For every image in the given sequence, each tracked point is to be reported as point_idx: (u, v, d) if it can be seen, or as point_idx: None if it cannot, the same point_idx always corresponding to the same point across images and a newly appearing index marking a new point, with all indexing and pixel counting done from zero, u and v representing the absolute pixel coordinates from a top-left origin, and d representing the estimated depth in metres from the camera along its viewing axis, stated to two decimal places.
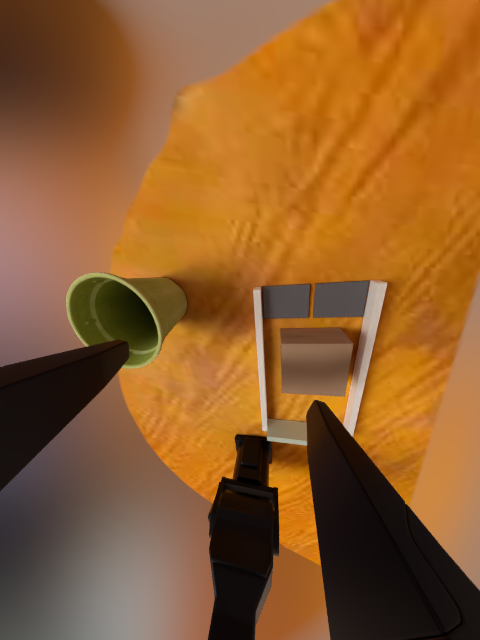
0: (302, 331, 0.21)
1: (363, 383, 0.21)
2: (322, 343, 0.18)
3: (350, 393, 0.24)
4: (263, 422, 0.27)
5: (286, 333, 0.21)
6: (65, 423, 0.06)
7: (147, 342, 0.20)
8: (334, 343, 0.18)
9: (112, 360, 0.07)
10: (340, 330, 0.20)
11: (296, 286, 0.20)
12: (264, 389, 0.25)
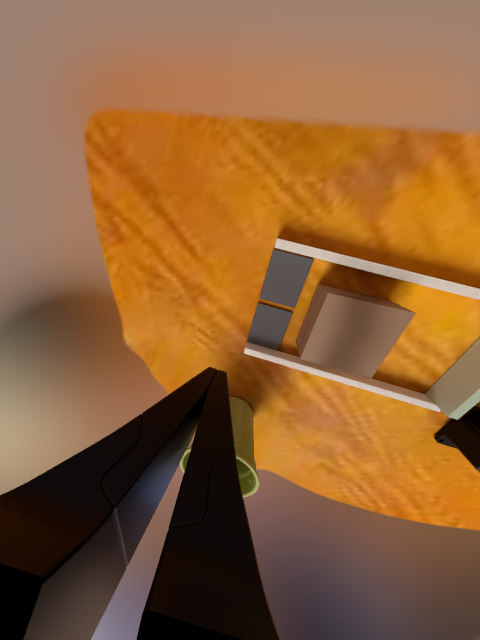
0: (304, 324, 0.19)
1: (418, 275, 0.15)
2: (315, 322, 0.16)
3: None
4: (423, 405, 0.20)
5: (299, 341, 0.19)
6: (178, 463, 0.06)
7: None
8: (319, 311, 0.15)
9: None
10: (318, 287, 0.17)
11: (256, 314, 0.20)
12: (365, 384, 0.20)
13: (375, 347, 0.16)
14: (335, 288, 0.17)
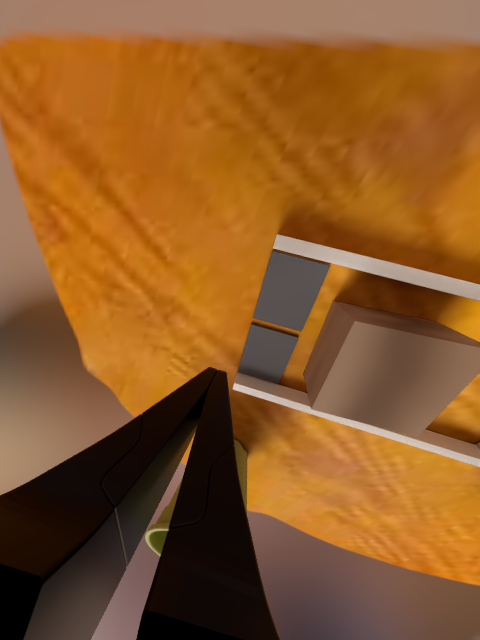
0: (315, 356, 0.14)
1: None
2: (333, 361, 0.11)
3: None
4: (477, 463, 0.14)
5: (308, 378, 0.14)
6: (178, 463, 0.06)
7: None
8: (340, 346, 0.10)
9: None
10: (335, 307, 0.12)
11: (248, 339, 0.15)
12: (397, 434, 0.15)
13: (426, 398, 0.10)
14: (359, 307, 0.12)
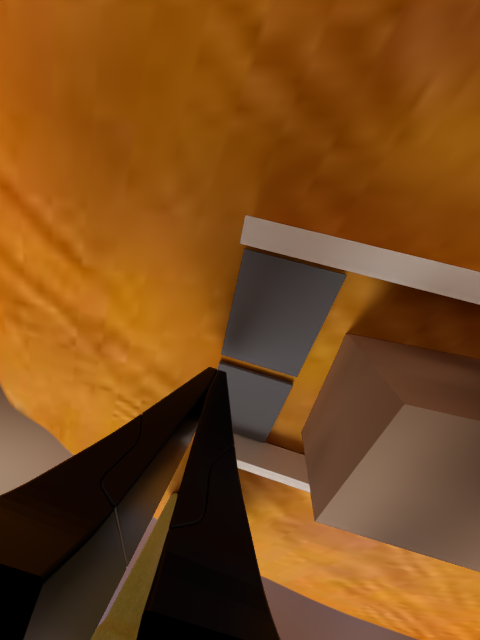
0: (318, 417, 0.09)
1: None
2: (355, 462, 0.06)
3: None
4: None
5: (308, 450, 0.09)
6: (178, 463, 0.06)
7: None
8: (370, 441, 0.05)
9: None
10: (351, 347, 0.07)
11: None
12: None
13: None
14: (392, 346, 0.07)
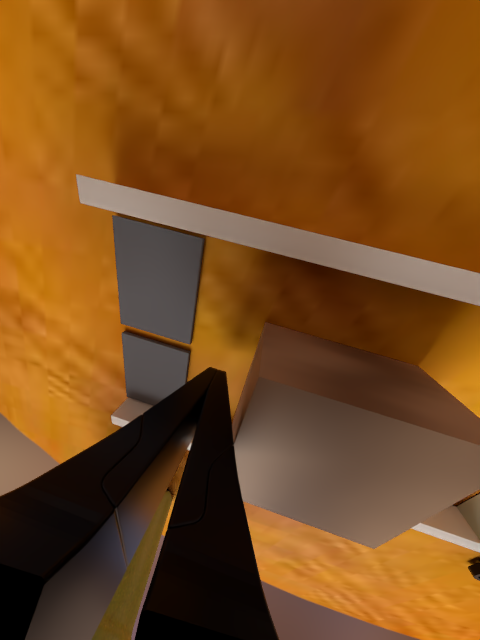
0: (240, 400, 0.09)
1: (474, 277, 0.05)
2: (237, 433, 0.06)
3: None
4: (456, 541, 0.10)
5: None
6: (179, 463, 0.06)
7: (142, 594, 0.13)
8: (244, 412, 0.06)
9: None
10: (262, 333, 0.08)
11: (125, 353, 0.10)
12: None
13: (389, 506, 0.06)
14: (301, 336, 0.08)
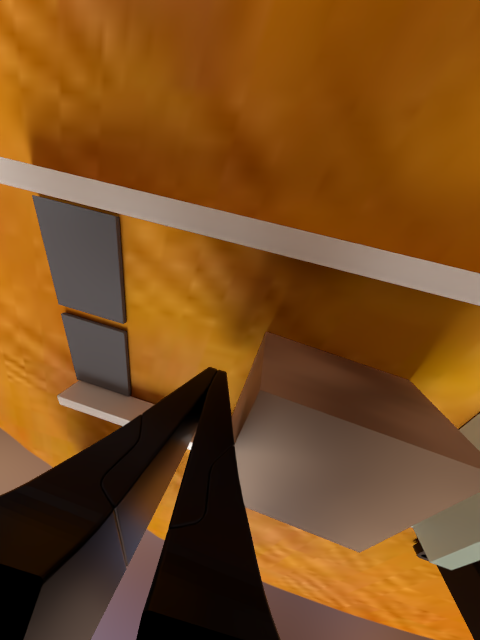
0: (238, 405, 0.10)
1: (333, 243, 0.05)
2: (235, 440, 0.06)
3: None
4: None
5: None
6: (178, 463, 0.06)
7: None
8: (244, 421, 0.06)
9: None
10: (263, 343, 0.08)
11: (68, 335, 0.11)
12: None
13: (376, 514, 0.06)
14: (300, 347, 0.08)
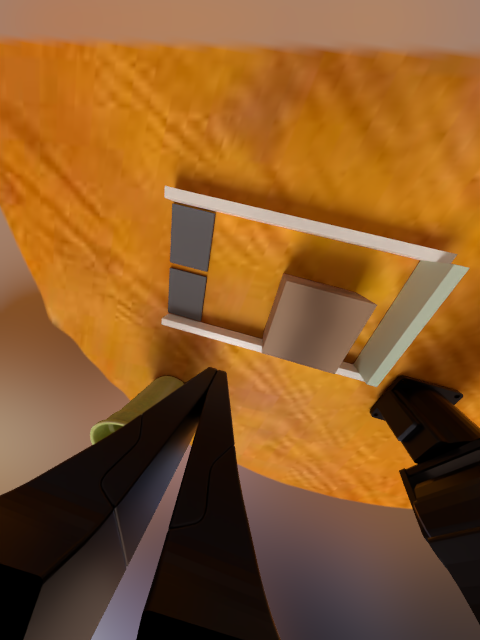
0: (269, 317, 0.18)
1: (315, 223, 0.13)
2: (275, 312, 0.15)
3: None
4: (347, 374, 0.18)
5: (264, 334, 0.18)
6: (178, 463, 0.06)
7: None
8: (279, 301, 0.14)
9: None
10: (283, 277, 0.16)
11: (170, 281, 0.19)
12: None
13: (337, 341, 0.15)
14: (300, 278, 0.16)
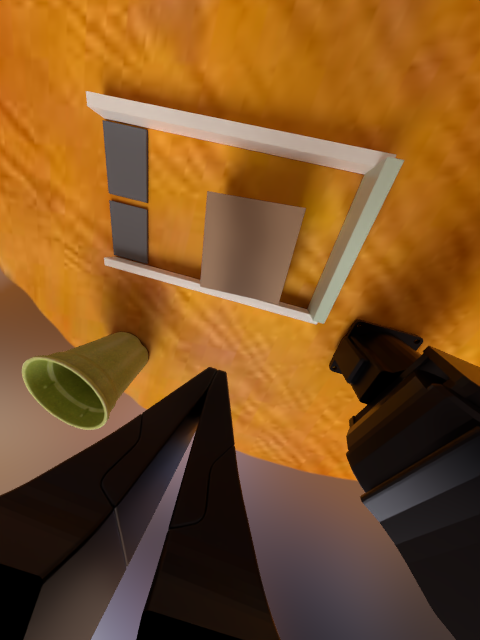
0: None
1: (243, 125, 0.12)
2: (204, 234, 0.14)
3: (278, 154, 0.13)
4: (298, 316, 0.17)
5: None
6: (178, 463, 0.06)
7: None
8: (205, 218, 0.13)
9: None
10: None
11: (112, 216, 0.18)
12: (234, 294, 0.17)
13: (273, 262, 0.13)
14: None
